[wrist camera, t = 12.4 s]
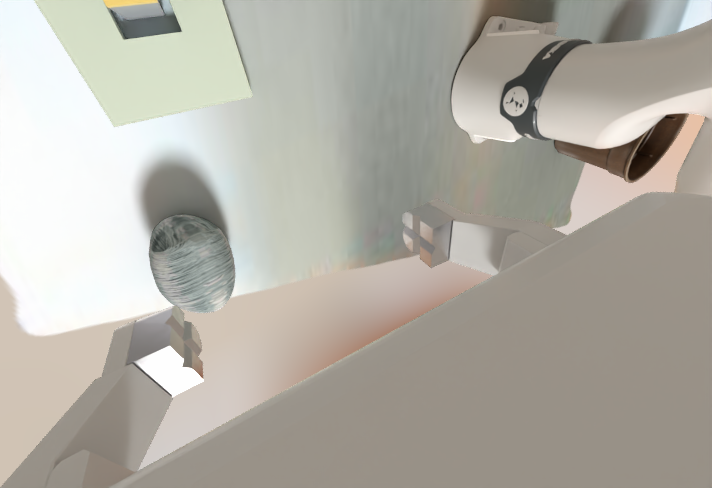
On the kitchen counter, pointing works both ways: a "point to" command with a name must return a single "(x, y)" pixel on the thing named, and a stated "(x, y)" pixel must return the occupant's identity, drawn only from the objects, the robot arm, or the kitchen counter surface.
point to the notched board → (151, 59)
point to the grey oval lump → (192, 263)
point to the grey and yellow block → (135, 8)
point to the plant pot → (631, 150)
